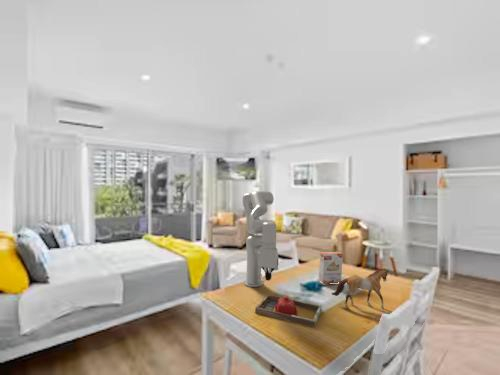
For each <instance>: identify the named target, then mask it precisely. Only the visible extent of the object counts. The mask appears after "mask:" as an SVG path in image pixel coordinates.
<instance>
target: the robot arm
mask: <svg viewBox="0 0 500 375" xmlns="http://www.w3.org/2000/svg"><path fill="white" fill-rule="evenodd" d="M273 203H274V195H273V193H272V192H271V191H263V190H262V191H259V190H257V191H253V192H248V193H245V194H243V196H242V205H243V209H244V211H245V215H246V227H247V232H248V233H249V234H251V235H249V236H248V237H247V238H246V240H245V244H246V276H245V277H246V279H244V281H243V284H244V285H245V286H246V287H250V288H258V287H259V288H260V287H262V286H263V285H264V281H263V280H262V276H263V273H262V270H263V272H264V277H265V281H268V282H269V281H270V280H271V279H272V273H273V271H278V270H279V252H278V248H277V225H278V224H277V223H276V222H275V221H273V220H271V219H261V218H260V217H262V216H265V215H266V214H267V213H268V206H271V205H272V204H273ZM252 234H253V235H252Z"/></svg>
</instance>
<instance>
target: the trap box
mask: <svg viewBox="0 0 500 375" xmlns="http://www.w3.org/2000/svg"><path fill="white" fill-rule="evenodd" d="M280 298H282V297H280V296H277V295H276V296H275V295H271V294H267V295H266V296H265V297H264V298H263V299H262V300H261V301H260V302H259V303H258V304H257V306H255V314H256V313H257V314H259V315H263V316H268V317H271V318H274V319H275V318H276V319H280V320H285V321H288V322H292V323H295V324H299V325H303V326H307V327H311V328H315V327H316V324H317V321H318V320H319V316H320V315H321V313H322V305H321V304H316V303H311V302H307V301H299V300H294V299H292V300H293V301H294V305H295V306H296V307H297V308H298V307H299V308H303V309H308V310H311V311H316V312H315V314H314V317H313V319H310V318H307V317H302V316H299V315H298V316H295V315H288V314H284V313H280V312H275V305H277V304H278V300H279V299H280Z"/></svg>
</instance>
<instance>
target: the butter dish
mask: <svg viewBox="0 0 500 375" xmlns="http://www.w3.org/2000/svg"><path fill="white" fill-rule="evenodd" d="M293 300H294V299H292V298H290V297H289V296H287V295H285V296H283V297H281V298H280V299H279V300H278V304H277V305H275V308H274V311H275V312H280V313H284V314H288V315H295V316H299V315H298V307H297V306H295V305H294V301H293Z"/></svg>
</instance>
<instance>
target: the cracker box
mask: <svg viewBox="0 0 500 375" xmlns="http://www.w3.org/2000/svg"><path fill="white" fill-rule="evenodd" d="M318 268H319V269H318V270H319V271H318V282H319V281H321V282H323V283H324V284H330V283H338V282H340V281H342V270H343V253H342V252H339V251H323V252H319V267H318Z"/></svg>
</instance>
